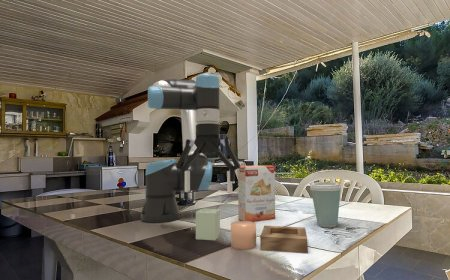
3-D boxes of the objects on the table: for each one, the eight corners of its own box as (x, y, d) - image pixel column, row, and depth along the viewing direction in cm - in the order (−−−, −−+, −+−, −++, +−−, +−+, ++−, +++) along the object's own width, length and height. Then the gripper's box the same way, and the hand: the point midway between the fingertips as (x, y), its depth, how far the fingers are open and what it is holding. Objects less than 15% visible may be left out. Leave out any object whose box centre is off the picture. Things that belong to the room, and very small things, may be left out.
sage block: (195, 239, 86) (195, 212, 86) (201, 233, 92) (201, 208, 92) (215, 240, 85) (214, 213, 85) (220, 234, 90) (219, 209, 91)
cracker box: (246, 223, 106) (245, 166, 107) (237, 219, 111) (237, 165, 112) (276, 218, 112) (275, 165, 113) (267, 216, 118) (266, 165, 119)
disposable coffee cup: (339, 230, 94) (337, 184, 95) (306, 226, 100) (305, 183, 101) (345, 224, 103) (344, 182, 104) (315, 220, 109) (314, 180, 110)
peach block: (228, 248, 77) (228, 226, 77) (233, 241, 84) (233, 220, 84) (254, 250, 76) (254, 227, 76) (257, 242, 82) (257, 221, 83)
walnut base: (260, 249, 76) (260, 236, 76) (264, 237, 87) (264, 225, 88) (307, 253, 73) (307, 239, 73) (305, 239, 85) (305, 227, 85)
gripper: (165, 123, 89) (165, 192, 88) (245, 121, 84) (246, 194, 82) (175, 126, 97) (175, 189, 95) (248, 123, 91) (249, 191, 90)
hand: (208, 192), depth 89 cm, fingers open, 13 cm apart
